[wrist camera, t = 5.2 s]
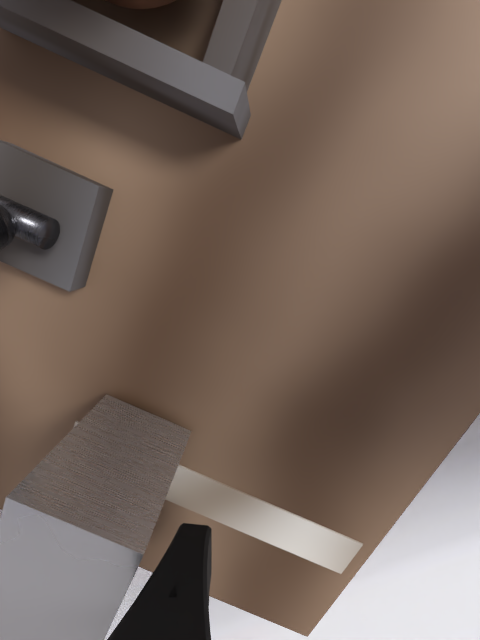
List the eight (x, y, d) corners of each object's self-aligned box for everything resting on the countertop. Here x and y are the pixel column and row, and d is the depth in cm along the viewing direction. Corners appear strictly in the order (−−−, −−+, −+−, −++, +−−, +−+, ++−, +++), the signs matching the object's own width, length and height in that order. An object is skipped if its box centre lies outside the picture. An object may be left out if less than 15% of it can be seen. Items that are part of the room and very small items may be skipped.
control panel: (728, 8, 8) (1056, -148, 5) (303, 596, 15) (313, 706, 11) (46, -335, 7) (-134, -789, 4) (-75, 437, 14) (-183, 502, 11)
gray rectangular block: (191, 430, 11) (143, 554, 7) (143, 535, 12) (80, 689, 8) (106, 394, 11) (6, 497, 7) (68, 504, 12) (-34, 643, 8)
